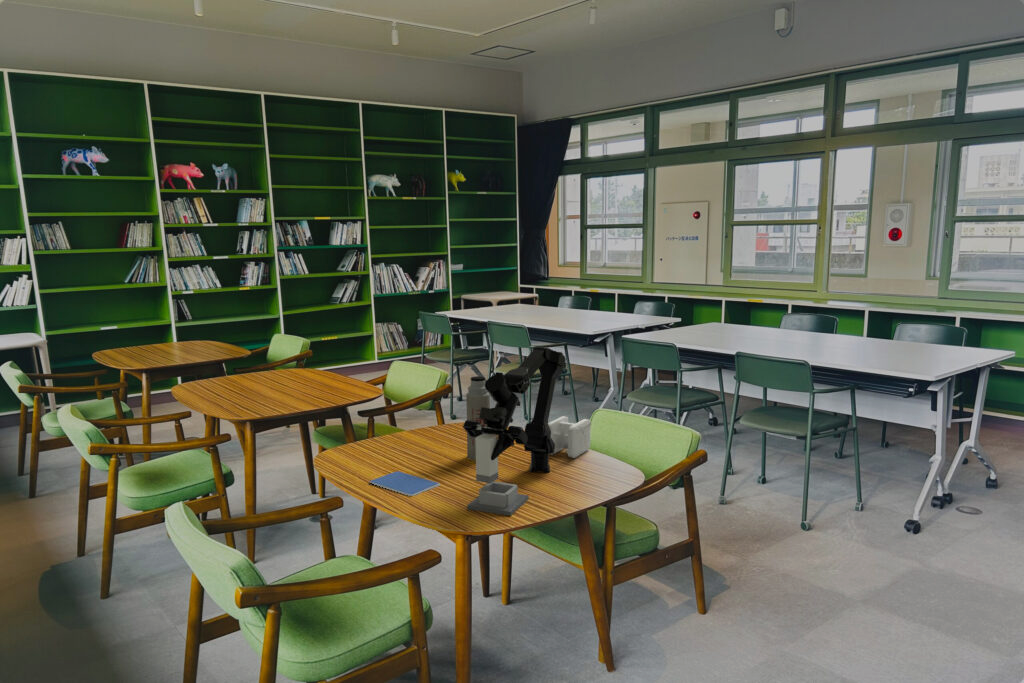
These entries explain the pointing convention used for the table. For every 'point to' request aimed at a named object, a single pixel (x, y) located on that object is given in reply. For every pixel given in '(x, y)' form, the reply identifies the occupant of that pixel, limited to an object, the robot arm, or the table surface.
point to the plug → (486, 458)
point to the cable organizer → (571, 436)
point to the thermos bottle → (476, 409)
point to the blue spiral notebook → (405, 483)
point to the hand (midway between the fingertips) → (484, 458)
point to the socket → (498, 499)
